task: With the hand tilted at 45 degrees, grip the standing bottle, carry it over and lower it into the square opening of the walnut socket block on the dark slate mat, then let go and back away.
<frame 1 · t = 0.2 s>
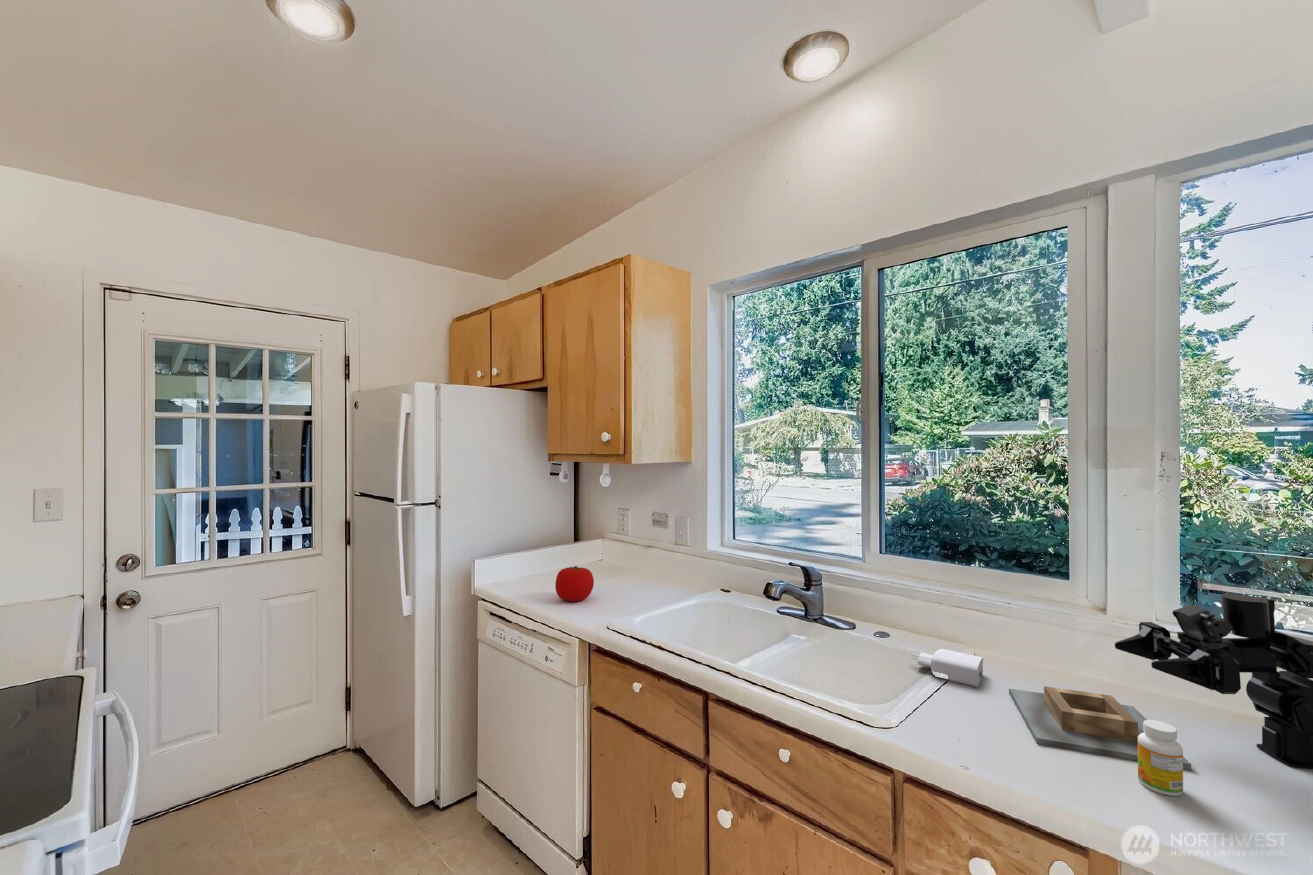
hand: (1132, 654, 100), 17 cm above the counter, tool horizontal, fingers open, 9 cm apart
tomato: (574, 600, 192), on the counter
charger: (944, 674, 132), on the counter
supplement bottle: (1159, 787, 88), on the counter
socket block: (1087, 726, 107), on the counter
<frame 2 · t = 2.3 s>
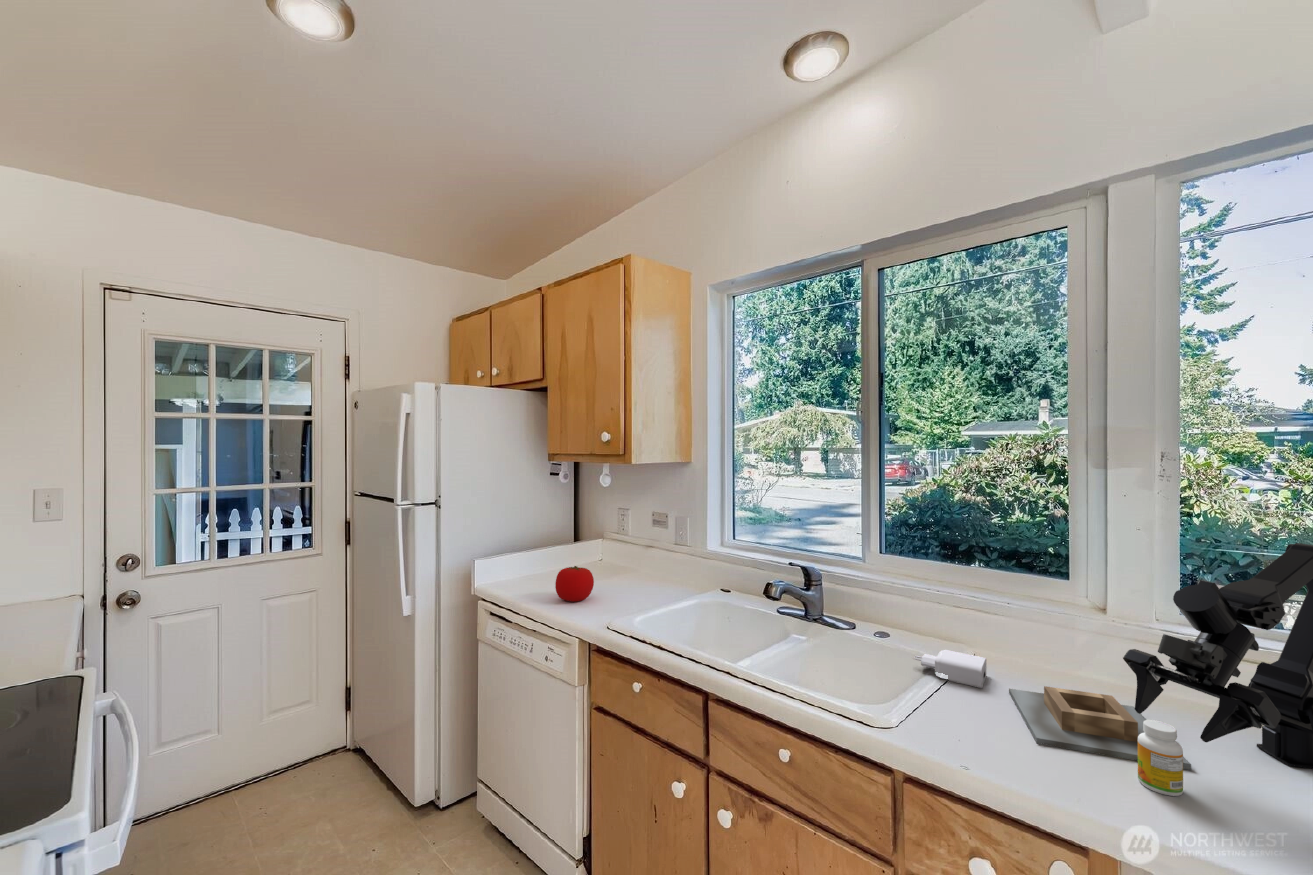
hand: (1168, 725, 89), 9 cm above the counter, tool tilted 45°, fingers open, 9 cm apart
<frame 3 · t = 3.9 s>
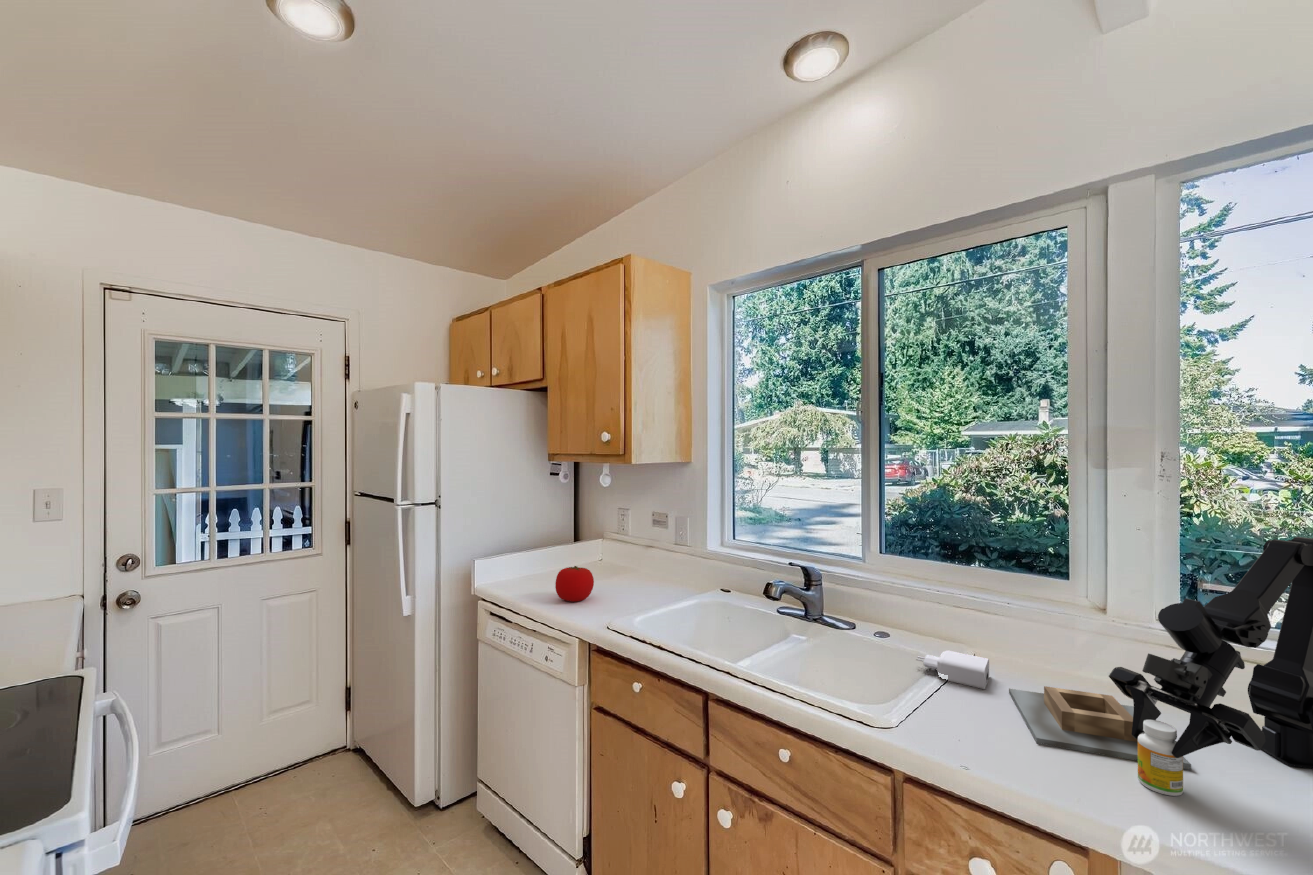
hand: (1153, 746, 88), 7 cm above the counter, tool tilted 45°, fingers closed on supplement bottle, 5 cm apart
supplement bottle: (1159, 787, 88), on the counter, touching gripper
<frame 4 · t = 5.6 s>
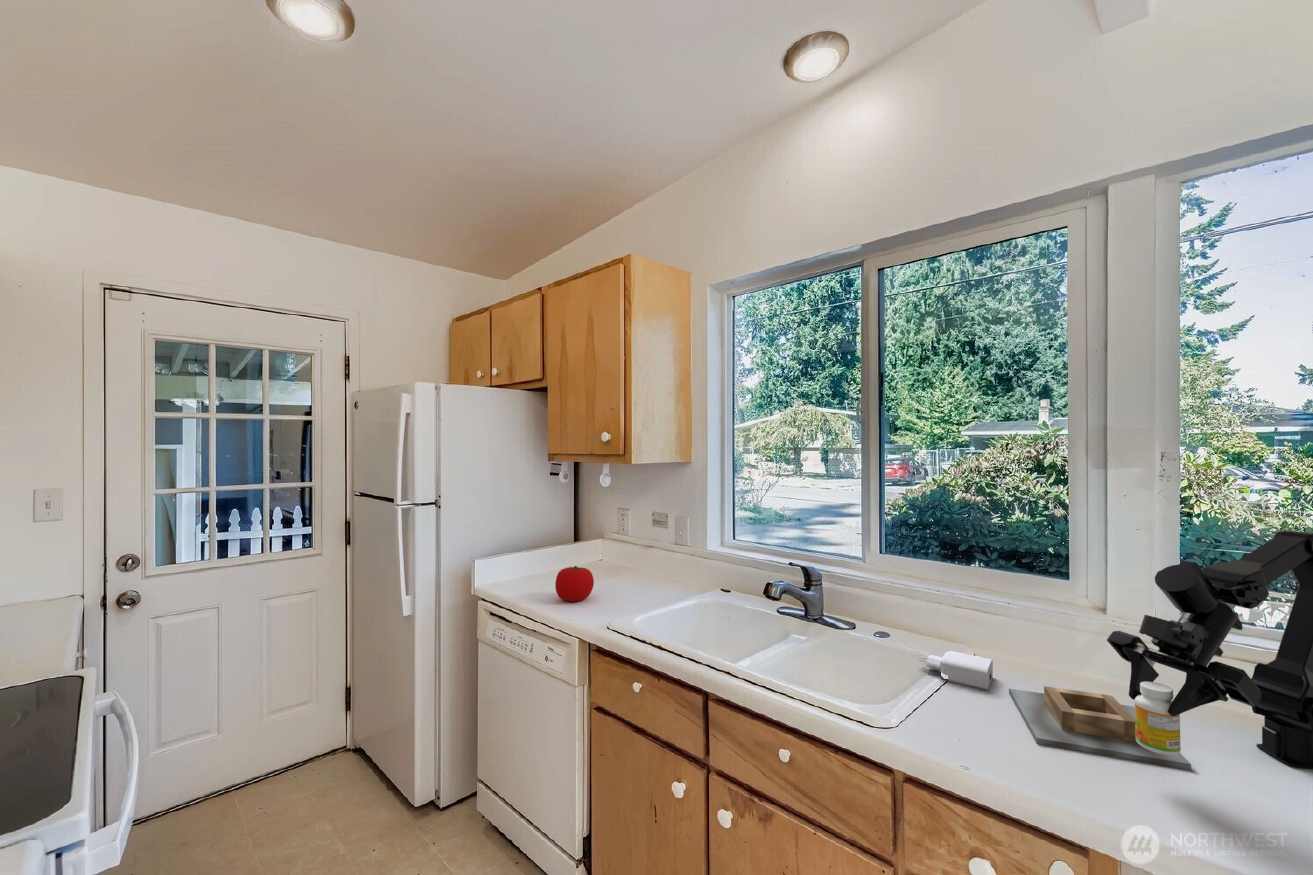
hand: (1150, 705, 89), 13 cm above the counter, tool tilted 45°, fingers closed on supplement bottle, 5 cm apart
supplement bottle: (1157, 748, 89), point 6 cm above the counter, touching gripper
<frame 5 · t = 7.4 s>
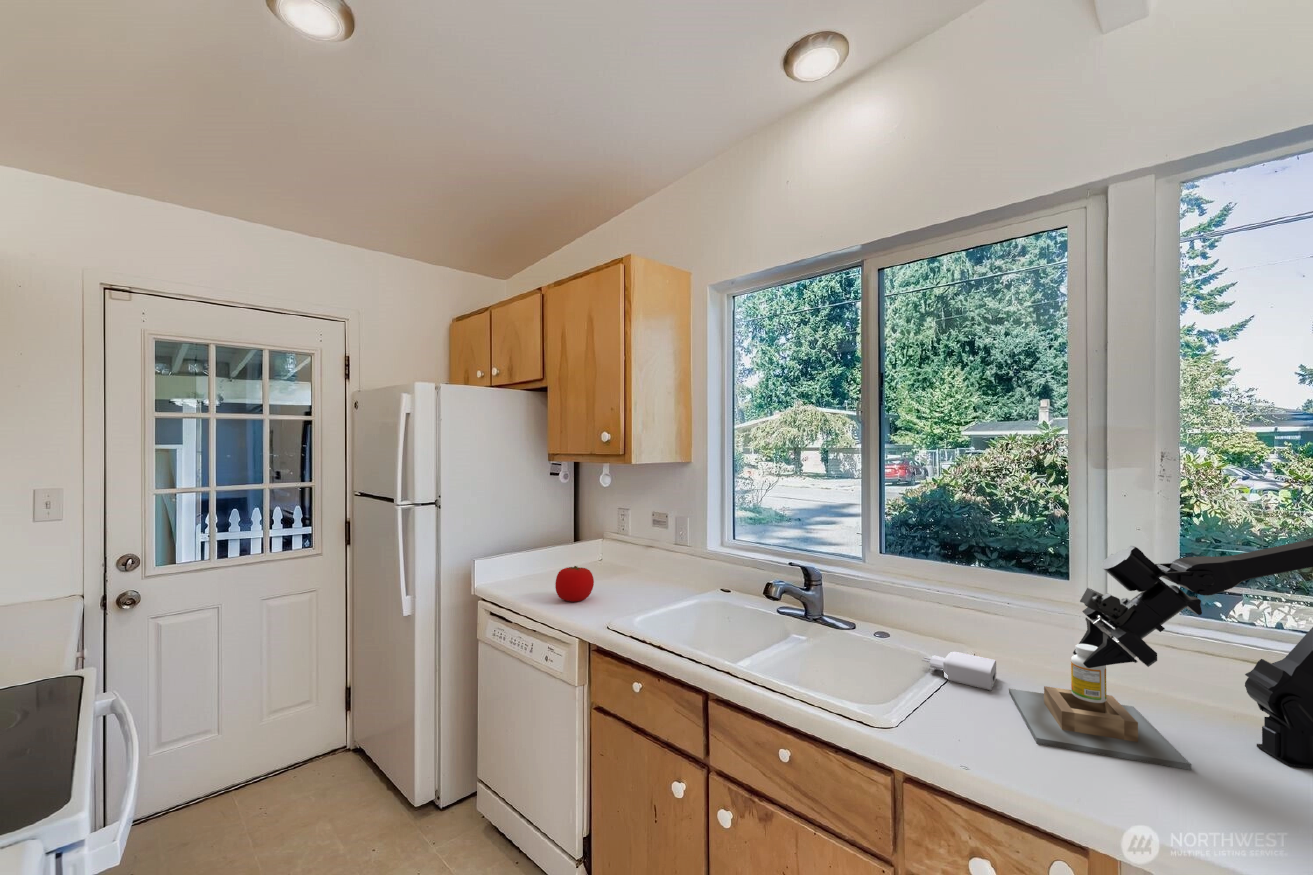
hand: (1080, 660, 108), 13 cm above the counter, tool tilted 45°, fingers closed on supplement bottle, 5 cm apart
supplement bottle: (1088, 698, 107), point 5 cm above the counter, touching gripper
when the fingers open (9 cm above the counter, at t = 9.0 s): supplement bottle stays where it is, resting on socket block.
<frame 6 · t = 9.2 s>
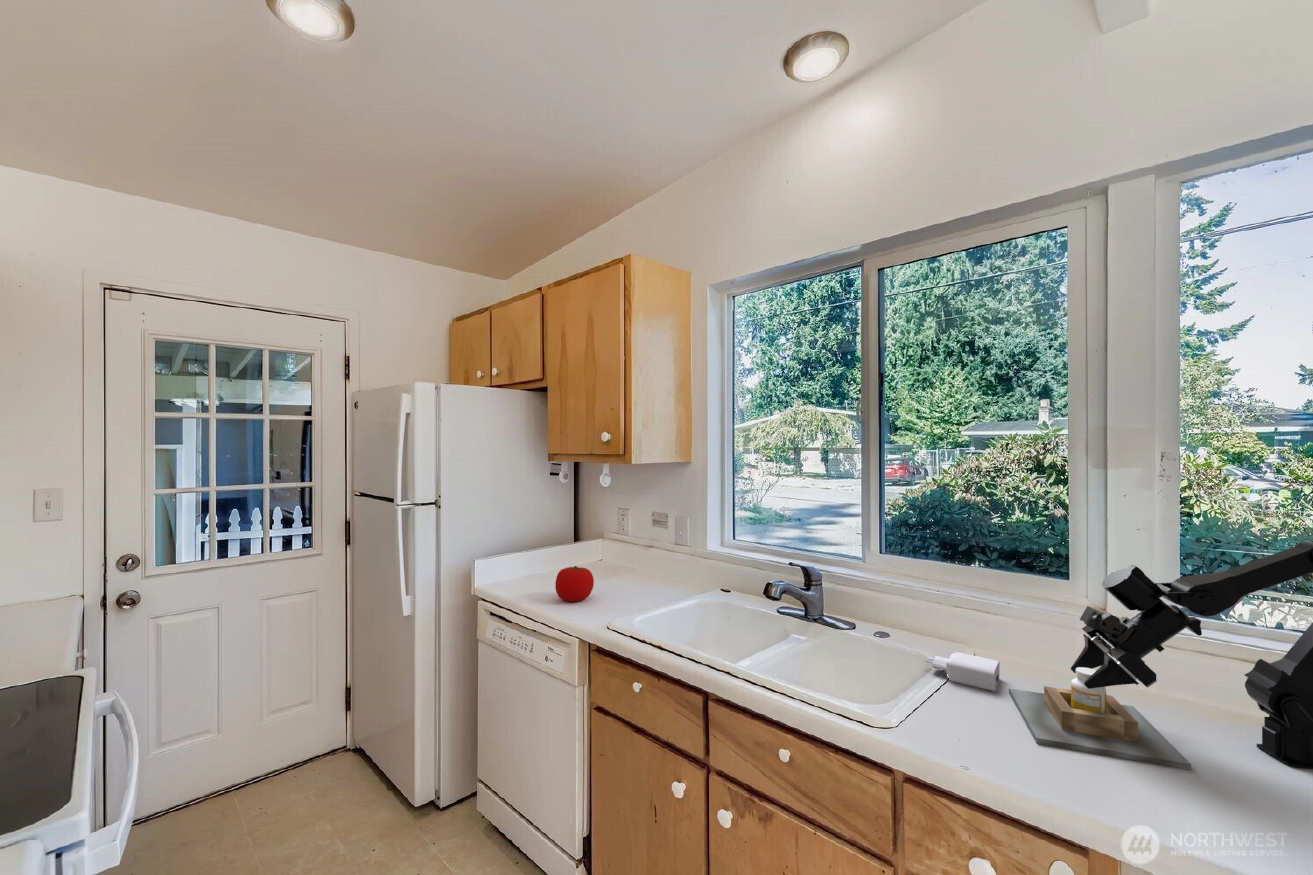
hand: (1079, 678, 108), 9 cm above the counter, tool tilted 45°, fingers open, 7 cm apart
supplement bottle: (1088, 722, 107), point 1 cm above the counter, touching socket block
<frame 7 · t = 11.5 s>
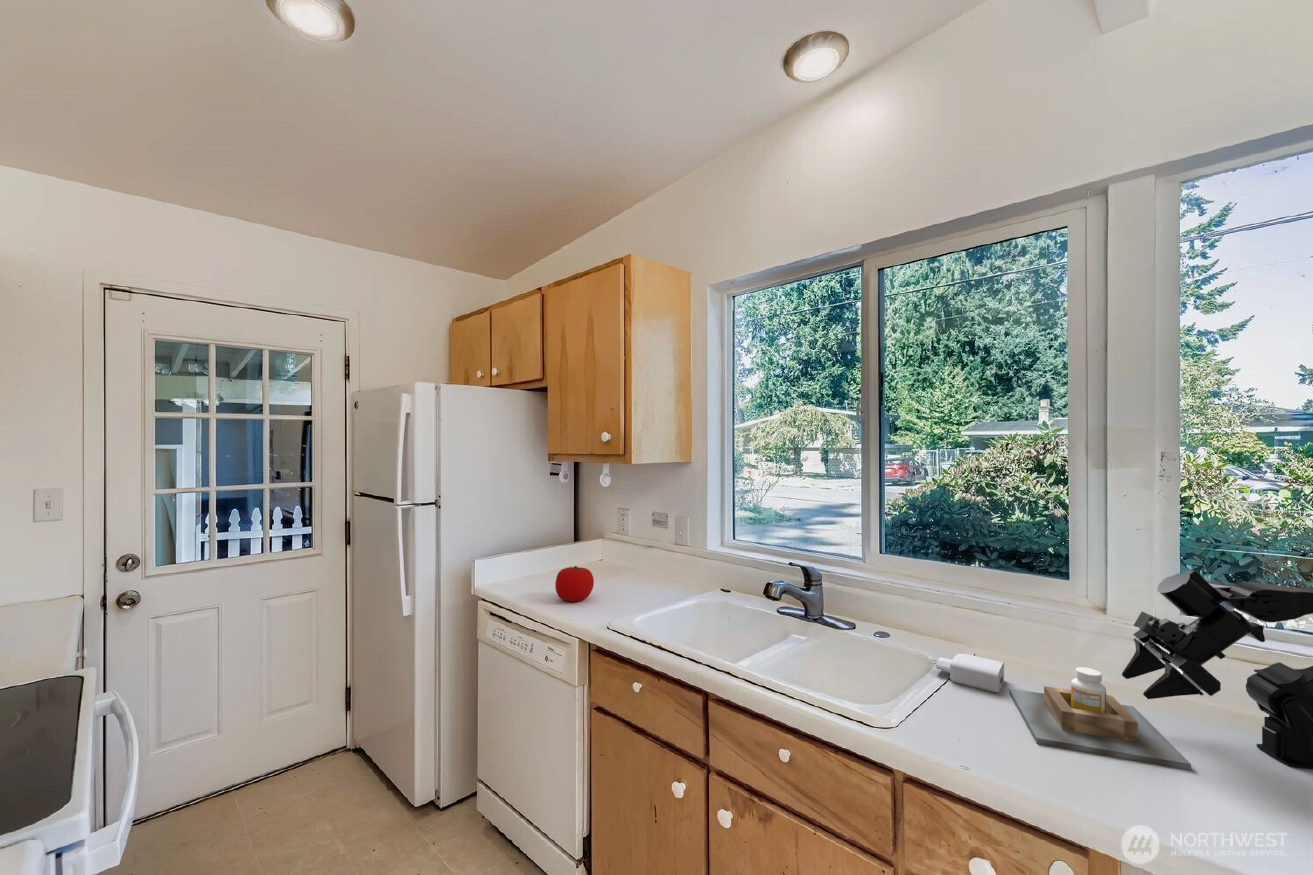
hand: (1134, 686, 104), 9 cm above the counter, tool tilted 45°, fingers open, 9 cm apart
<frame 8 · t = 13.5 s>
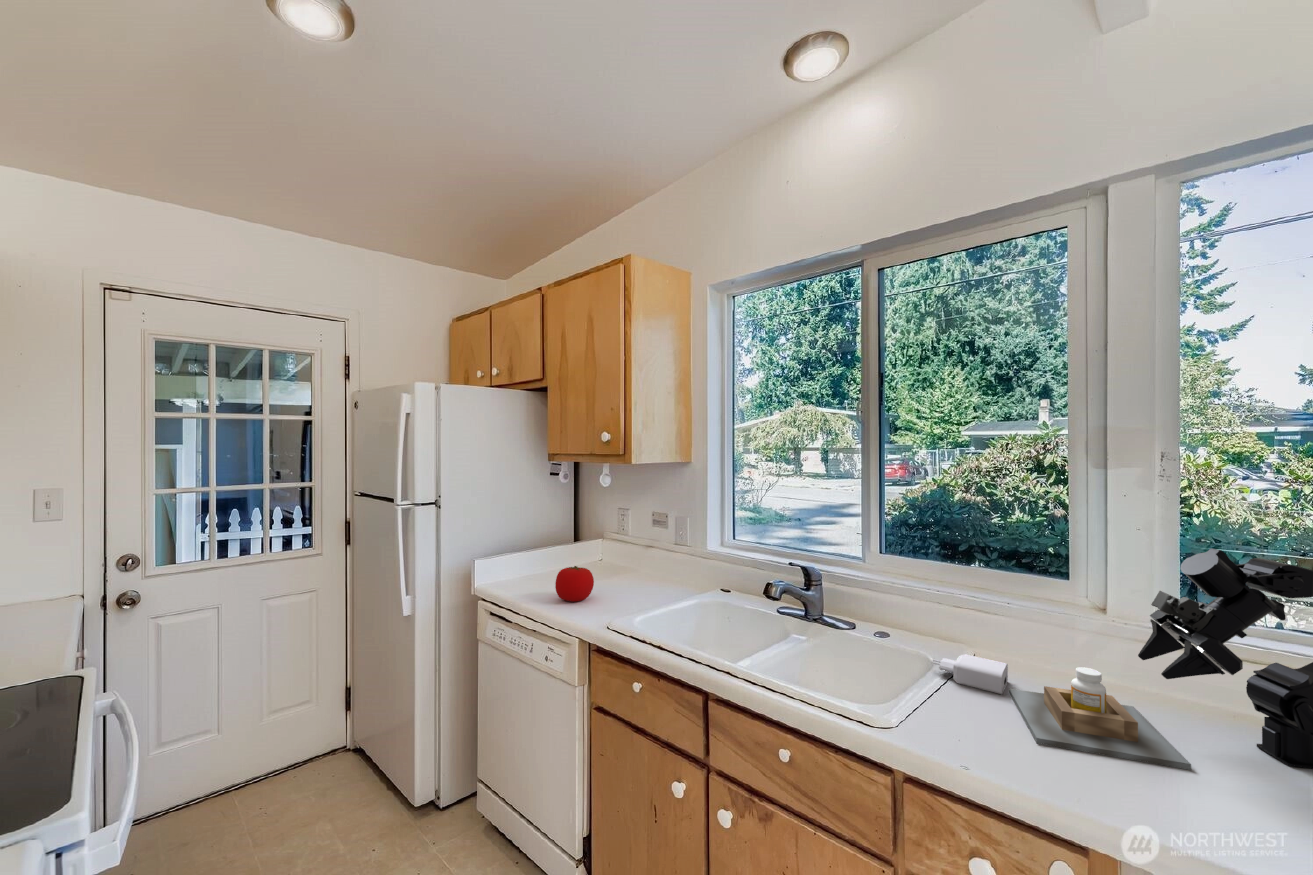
hand: (1151, 666, 102), 14 cm above the counter, tool tilted 45°, fingers open, 9 cm apart
at the end: supplement bottle 0.1 cm off-centre on the socket block, point 0.8 cm above the socket block's base; supplement bottle tilted 0°; the gripper is holding nothing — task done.
